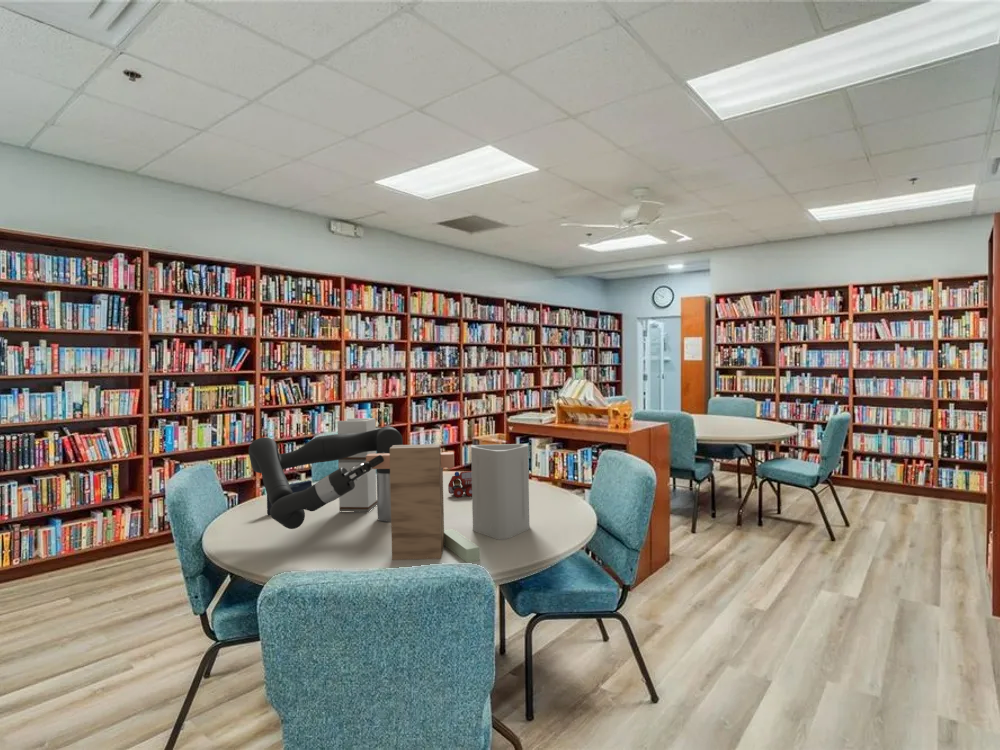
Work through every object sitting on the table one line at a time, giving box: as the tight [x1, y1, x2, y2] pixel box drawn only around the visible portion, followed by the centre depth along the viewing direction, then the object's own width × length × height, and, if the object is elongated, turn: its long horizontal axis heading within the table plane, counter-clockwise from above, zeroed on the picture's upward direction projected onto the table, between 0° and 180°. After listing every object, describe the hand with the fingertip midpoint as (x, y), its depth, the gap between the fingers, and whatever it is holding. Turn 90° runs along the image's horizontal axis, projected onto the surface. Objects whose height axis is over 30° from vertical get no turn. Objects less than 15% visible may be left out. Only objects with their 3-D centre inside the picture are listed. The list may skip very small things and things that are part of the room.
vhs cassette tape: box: [266, 480, 313, 516], centre depth 212 cm, size 18×3×10 cm, turn 143°
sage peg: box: [444, 528, 481, 563], centre depth 161 cm, size 20×4×4 cm, turn 27°
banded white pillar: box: [336, 417, 377, 513], centre depth 211 cm, size 11×11×35 cm
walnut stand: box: [390, 443, 445, 561], centre depth 160 cm, size 12×14×32 cm
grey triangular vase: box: [470, 443, 530, 540], centre depth 178 cm, size 19×15×28 cm
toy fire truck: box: [447, 470, 472, 498], centre depth 230 cm, size 7×12×10 cm, turn 105°
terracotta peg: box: [366, 451, 455, 470], centre depth 163 cm, size 4×26×4 cm, turn 91°
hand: (383, 456), depth 163 cm, fingers closed on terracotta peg, 4 cm apart
